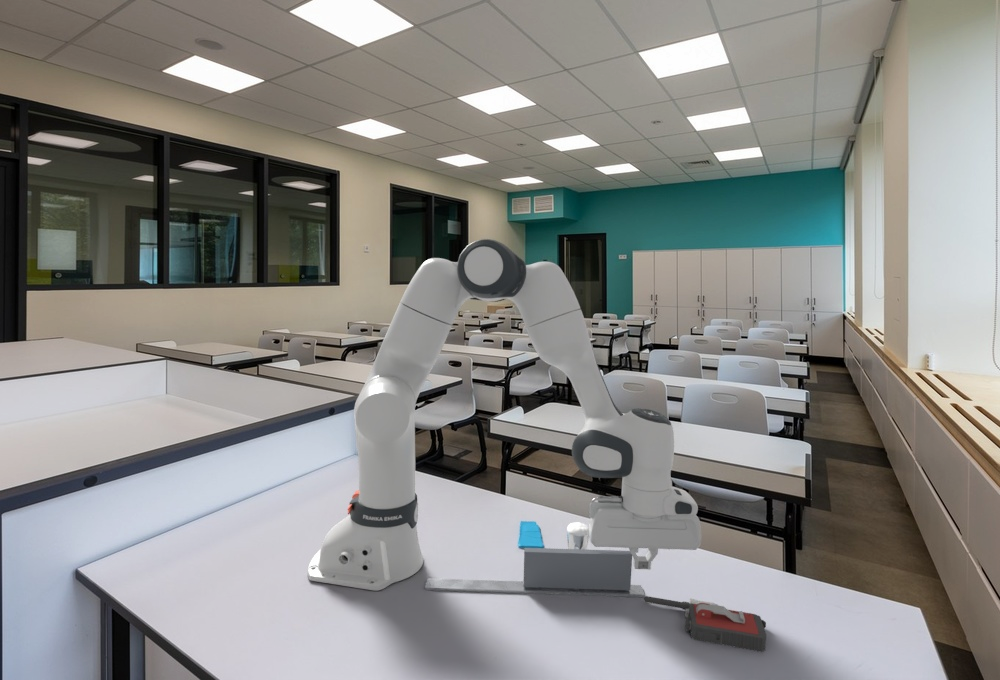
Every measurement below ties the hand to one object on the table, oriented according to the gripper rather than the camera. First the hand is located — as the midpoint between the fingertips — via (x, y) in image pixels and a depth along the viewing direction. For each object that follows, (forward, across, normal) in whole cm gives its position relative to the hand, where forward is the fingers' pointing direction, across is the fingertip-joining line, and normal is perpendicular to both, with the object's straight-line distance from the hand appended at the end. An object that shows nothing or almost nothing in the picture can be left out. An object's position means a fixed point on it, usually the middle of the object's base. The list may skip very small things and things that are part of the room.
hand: (641, 567), depth 98 cm
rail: (+5, -20, 0) cm, 21 cm away
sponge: (+6, -20, +21) cm, 29 cm away
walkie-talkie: (+6, +9, -9) cm, 14 cm away
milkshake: (+5, -11, +8) cm, 14 cm away
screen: (+5, -12, 0) cm, 13 cm away
